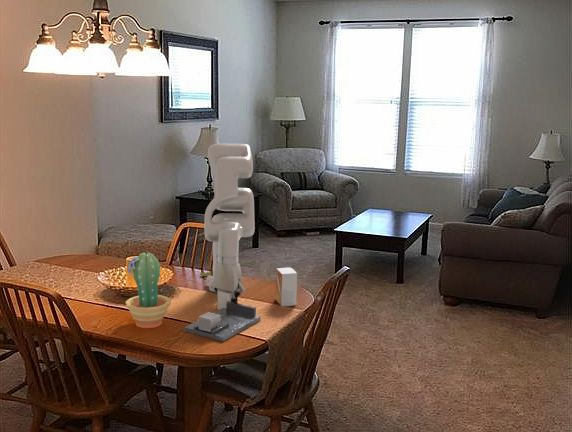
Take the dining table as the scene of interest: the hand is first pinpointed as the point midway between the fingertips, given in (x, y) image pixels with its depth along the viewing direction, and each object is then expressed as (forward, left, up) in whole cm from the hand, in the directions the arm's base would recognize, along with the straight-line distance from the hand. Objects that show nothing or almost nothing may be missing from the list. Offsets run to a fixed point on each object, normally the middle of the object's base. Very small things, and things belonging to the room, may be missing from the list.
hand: (227, 305), depth 235 cm
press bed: (+9, -15, -1) cm, 18 cm away
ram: (+9, -22, +1) cm, 24 cm away
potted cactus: (-14, -28, -1) cm, 31 cm away
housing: (0, 0, -1) cm, 1 cm away
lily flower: (-29, +30, -2) cm, 42 cm away
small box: (+15, +18, -1) cm, 23 cm away
